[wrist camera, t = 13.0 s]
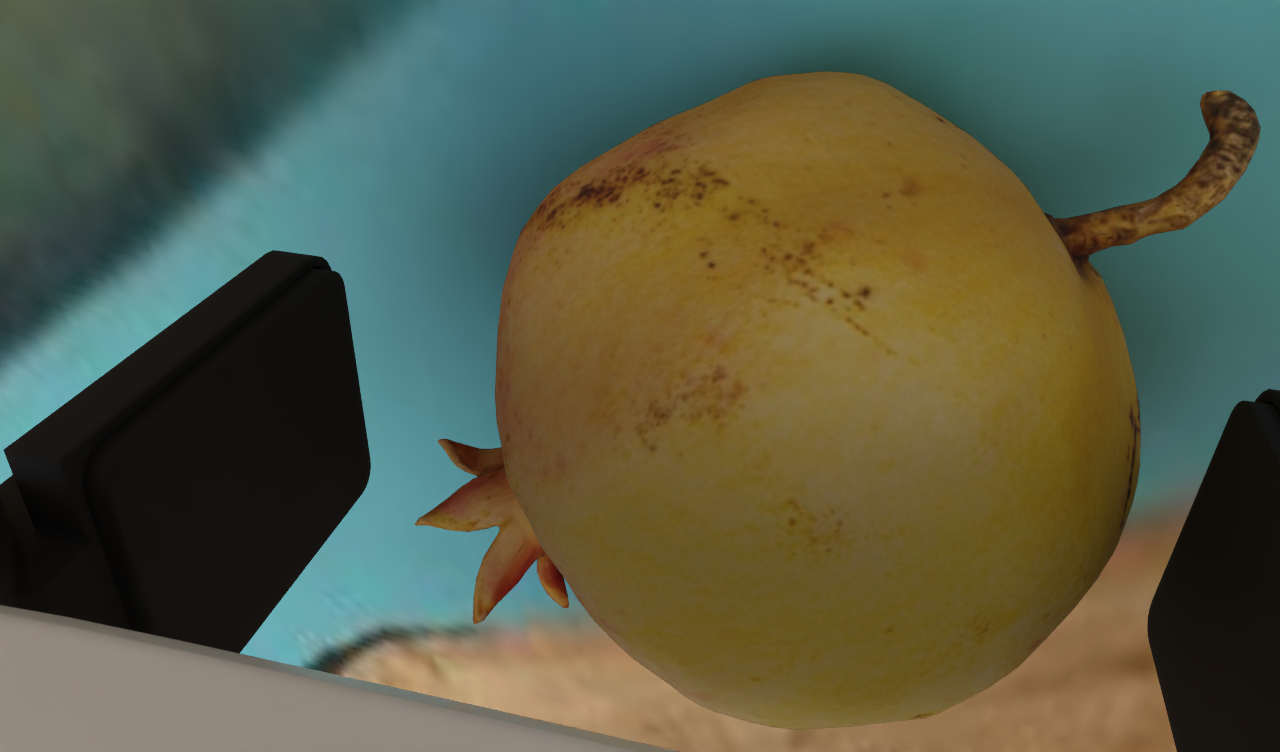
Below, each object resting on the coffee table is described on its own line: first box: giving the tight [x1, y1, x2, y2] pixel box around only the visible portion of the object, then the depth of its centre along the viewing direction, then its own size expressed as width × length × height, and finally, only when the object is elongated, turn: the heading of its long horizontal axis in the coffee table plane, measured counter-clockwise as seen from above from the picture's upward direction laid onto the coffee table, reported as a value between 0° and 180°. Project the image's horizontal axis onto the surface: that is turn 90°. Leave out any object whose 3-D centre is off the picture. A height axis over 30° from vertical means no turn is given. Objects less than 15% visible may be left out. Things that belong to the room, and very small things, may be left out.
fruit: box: [415, 72, 1260, 730], centre depth 11 cm, size 7×7×10 cm
